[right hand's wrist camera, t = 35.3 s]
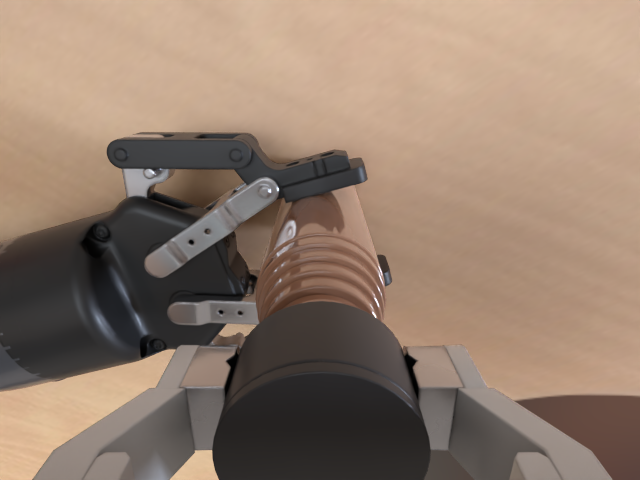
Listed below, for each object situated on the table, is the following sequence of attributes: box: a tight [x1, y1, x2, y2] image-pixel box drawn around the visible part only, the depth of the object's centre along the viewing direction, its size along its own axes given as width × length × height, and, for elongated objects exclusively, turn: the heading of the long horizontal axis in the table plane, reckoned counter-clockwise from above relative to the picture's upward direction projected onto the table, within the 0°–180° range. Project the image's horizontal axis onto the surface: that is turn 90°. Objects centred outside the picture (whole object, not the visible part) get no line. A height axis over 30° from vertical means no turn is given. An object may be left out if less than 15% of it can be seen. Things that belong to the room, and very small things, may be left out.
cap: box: [212, 301, 431, 480], centre depth 9 cm, size 4×4×3 cm
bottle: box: [256, 185, 386, 323], centre depth 17 cm, size 4×4×18 cm
